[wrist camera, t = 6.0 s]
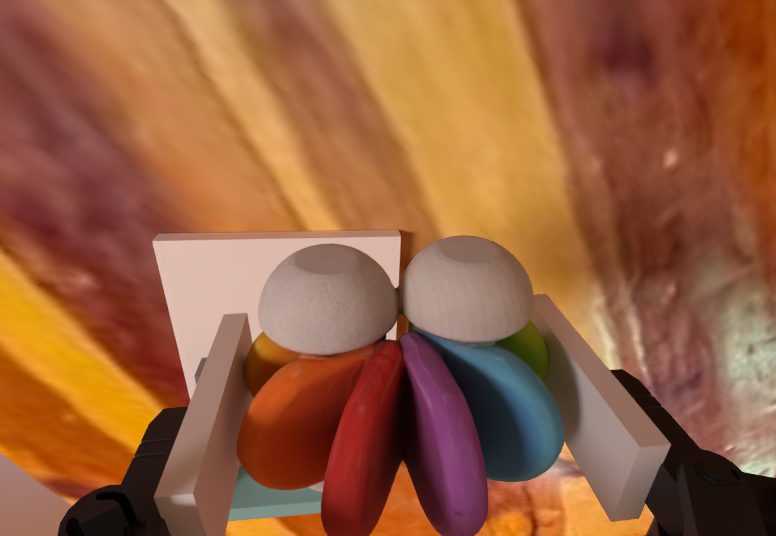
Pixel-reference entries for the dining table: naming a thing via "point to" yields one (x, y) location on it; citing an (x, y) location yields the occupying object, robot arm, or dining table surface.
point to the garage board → (242, 295)
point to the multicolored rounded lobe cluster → (399, 383)
